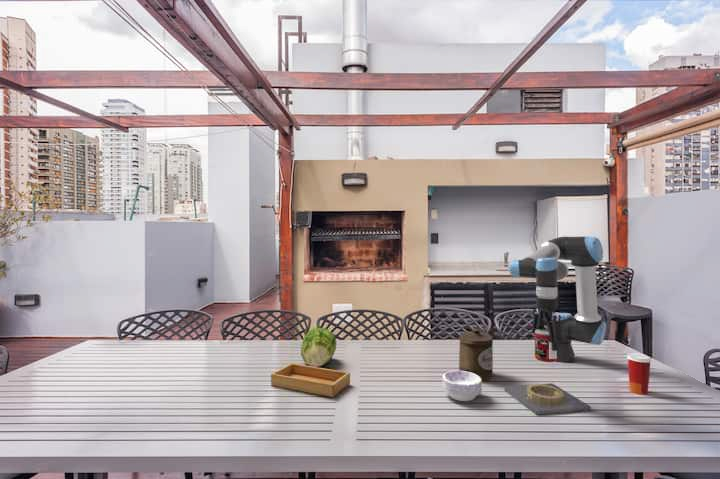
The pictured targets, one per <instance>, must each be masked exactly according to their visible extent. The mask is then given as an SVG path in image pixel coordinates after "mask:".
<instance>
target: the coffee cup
mask: <svg viewBox="0 0 720 479" xmlns="http://www.w3.org/2000/svg"><path fill="white" fill-rule="evenodd" d="M626 359H627V367H628V368H627V369H628V387H629V392H632V393H633V394H637V395H641V396H642V395H644V396H645V395H648V392H649V383H650V373H651V372H650V371H651V363H652V359H651V357H650V356H648V355H646V354H643V353H638V352H629V353H628V354H627V356H626Z"/></svg>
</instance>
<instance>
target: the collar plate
mask: <svg viewBox="0 0 720 479" xmlns="http://www.w3.org/2000/svg"><path fill="white" fill-rule="evenodd" d="M503 388H504V389H503V391H505V392H506V393H508V394H509V395H510V396H511V398H512V397H513V398H514V399H515V400H516V401H517V402H519V404H522V405H523V407H525V408H527V409H528V410H529V411H531V412H532V413H533V414H534V415H535V416H542V415H554V414H565V413H567V414H569V413H577V412H578V413H579V412H591V411H592V406H591V405H589V404H587V403H586V402H584V401H582V400H580V399H579V398H577V397H576V396H574V395H572V394H571V393H569V392H567V390H566V391H565V390H564V389H562V388H561V387H560V386H557V385H556V384H554V383H551V382H550V383H537V384H523V385H522V384H521V385H510V386H509V385H508V386H507V385H506V386H504V387H503Z"/></svg>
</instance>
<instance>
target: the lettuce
mask: <svg viewBox="0 0 720 479" xmlns="http://www.w3.org/2000/svg"><path fill="white" fill-rule="evenodd" d="M336 349H337V339H336V336H335V334H334V333H333V332H332V331H331V330H330V329H328V328H325V327H314V328H312V329H309V330H308V331H307V333H305V335H304V337H303V338H302V342H301V346H300V355H301V357H302V360H303V362H304V363H305V364H307V366H312V367H318V368H320V367H322V366H324V365H327V363H328V362H330V360H332V358H333V356H334V355H335V352H336Z"/></svg>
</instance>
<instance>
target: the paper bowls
mask: <svg viewBox="0 0 720 479" xmlns="http://www.w3.org/2000/svg"><path fill="white" fill-rule="evenodd" d="M482 383H483V381H482V380H481V378H480V377H479V376H478V375H476V374H474V373H471V372H467V371H459V370H450V371H447V372H445V373H443V374H442V390H443V391H444V392H445V393H447V394H448V396H449V398H452V399H453V400H456V401H460V402H470V401H473V400H474V399H475V398H476V397H477V396H479V395H481V393H482V390H483V387H482V386H483V385H482Z"/></svg>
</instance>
